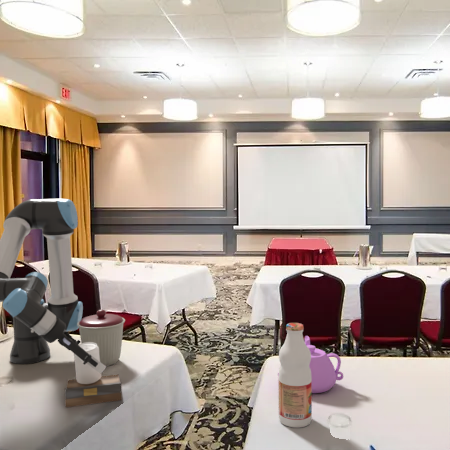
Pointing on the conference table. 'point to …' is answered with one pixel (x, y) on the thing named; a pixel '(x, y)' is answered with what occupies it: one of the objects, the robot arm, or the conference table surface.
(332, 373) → the teapot
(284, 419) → the fruit juice
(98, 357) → the beverage can
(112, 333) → the canister
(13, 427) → the conference table surface
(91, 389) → the shelf board
